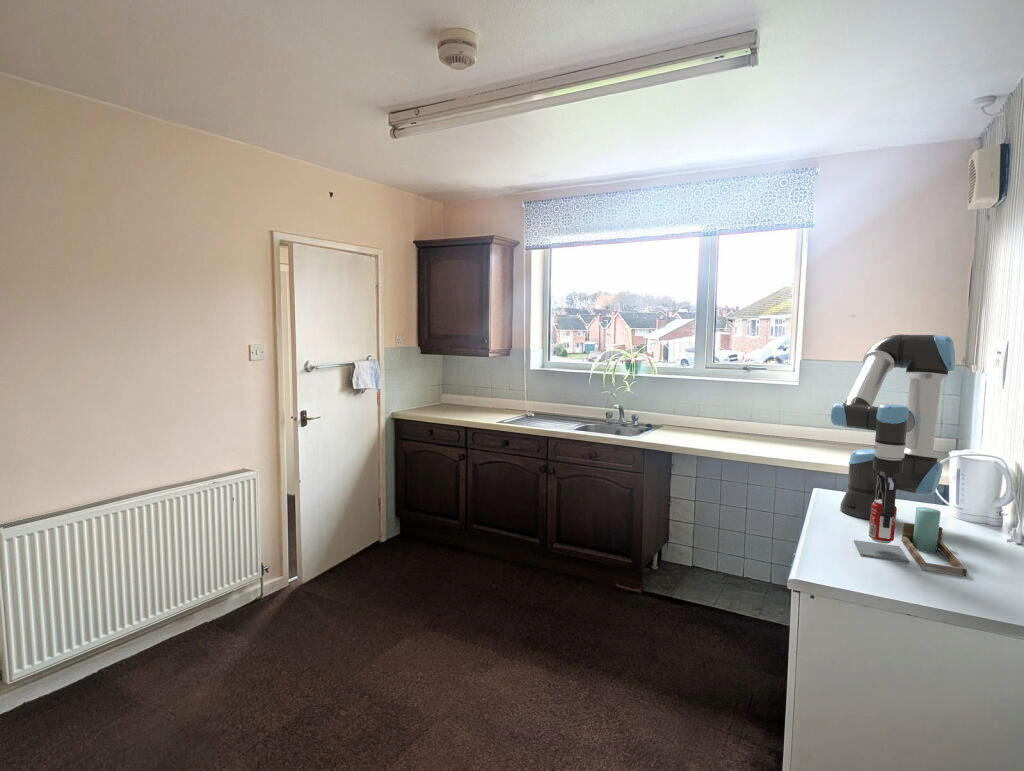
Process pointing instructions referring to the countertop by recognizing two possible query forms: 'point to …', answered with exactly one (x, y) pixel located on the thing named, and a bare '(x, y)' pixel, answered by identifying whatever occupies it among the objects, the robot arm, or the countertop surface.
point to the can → (926, 529)
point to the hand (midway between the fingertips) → (881, 533)
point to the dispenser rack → (958, 567)
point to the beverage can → (875, 523)
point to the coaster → (881, 551)
